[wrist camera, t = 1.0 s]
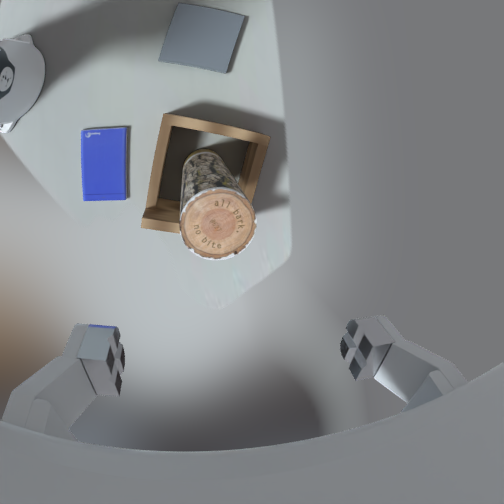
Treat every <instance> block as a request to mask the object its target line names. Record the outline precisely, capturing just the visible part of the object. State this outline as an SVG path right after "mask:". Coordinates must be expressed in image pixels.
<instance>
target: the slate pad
mask: <svg viewBox="0 0 504 504" xmlns="http://www.w3.org/2000/svg"><path fill="white" fill-rule="evenodd" d="M244 17H245V16H242V15H238V14H234V13H230V12H226V11H222V10H217V9H212V8H207V7H202V6H196V5H190V4H183V3H178V5H177V8H176V10H175V13H174V16H173V18H172V21H171V24H170V27H169V29H168V32H167V35H166V38H165V41H164V44H163V47H162V50H161V53H160V57H159V60H158V61H160V62H167V63H174V64H180V65H186V66H191V67H197V68H202V69H207V70H211V71H216V72H220V73H226V71H227V68H228V65H229V62H230V59H231V55H232V52H233V49H234V46H235V43H236V40H237V37H238V34H239V31H240V28H241V25H242V22H243V20H244Z"/></svg>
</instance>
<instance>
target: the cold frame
mask: <svg viewBox="0 0 504 504" xmlns="http://www.w3.org/2000/svg"><path fill="white" fill-rule="evenodd" d="M173 126H178V127H184V128H189V129H194V130H200V131H205V132H210V133H214V134H219V135H224V136H228V137H233V138H237V139H241V140H245V141H250V142H249V145H248V149H247V153H246V156H245V160H244V163H243V167H242V171H241V174H240V178H239V182H238V185H239V186H240V188H241V189H242V191H243V192H244V194H245V195H246V197H247V199H248V200H249V202H250V203H252V200H253V196H254V193H255V189H256V186H257V182H258V179H259V175H260V172H261V168H262V165H263V161H264V158H265V155H266V151H267V148H268V144H269V141H270V138H271V137H270V136H267V135H264V134H262V133H258V132H254V131H250V130H246V129H242V128H238V127H234V126H230V125H225V124H221V123H216V122H212V121H207V120H202V119H197V118H191V117H186V116H180V115H175V114H168V113H165V114H163V118H162V122H161V127H160V131H159V136H158V141H157V145H156V150H155V155H154V161H153V166H152V172H151V177H150V183H149V190H148V196H147V203H146V209H145V212H144V214H143V217H142V223H141V228H146V229H152V230H159V231H166V232H173V233H179V234H180V228H179V220H180V201H175V200H168V199H162V198H159V192H160V187H161V181H162V176H163V170H164V165H165V160H166V155H167V150H168V146H169V141H170V137H171V132H172V128H173Z"/></svg>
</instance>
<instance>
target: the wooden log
mask: <svg viewBox="0 0 504 504" xmlns="http://www.w3.org/2000/svg"><path fill="white" fill-rule="evenodd" d="M256 225H257V221H256V215H255V211H254V209H253V207H252V205H251V203H250V202H249V200H248V199H247V197H246V195H245V194H244V192H243V191H242V189H241V188H240V186H239V185H238V183H237V182H236V180H235V178H234V177H233V175H232V174H231V172H230V171H229V169H228V168H227V166H226V165H225V163H224V162H223V160H222V159H221V158H220V156H219V155H218V154H217V153H215V152H214V151H212V150H208V149H200V150H196V151H194V152H192V153H191V154H190V155H189V156H188V157H187V158H186V160H185V162H184V165H183V173H182V186H181V201H180V220H179V228H180V234H181V237H182V240H183V242H184V244H185V245H186V247H187V248H188V249H189V250H190V251H191V252H193V253H194V254H195V255H197V256H199V257H201V258H204V259H208V260H224V259H228V258H231V257H234V256H236V255H237V254H239V253H241V252H242V251H243V250H244V249H245V248H246V247H247V246H248V245H249V244H250V242H251V241H252V239H253V237H254V235H255V231H256Z"/></svg>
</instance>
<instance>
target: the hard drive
mask: <svg viewBox="0 0 504 504" xmlns="http://www.w3.org/2000/svg"><path fill="white" fill-rule="evenodd" d="M126 157H127V127H119V128H102V129H89V130H82V131H81V168H82V187H83V201H101V200H126V199H127V180H126Z"/></svg>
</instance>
